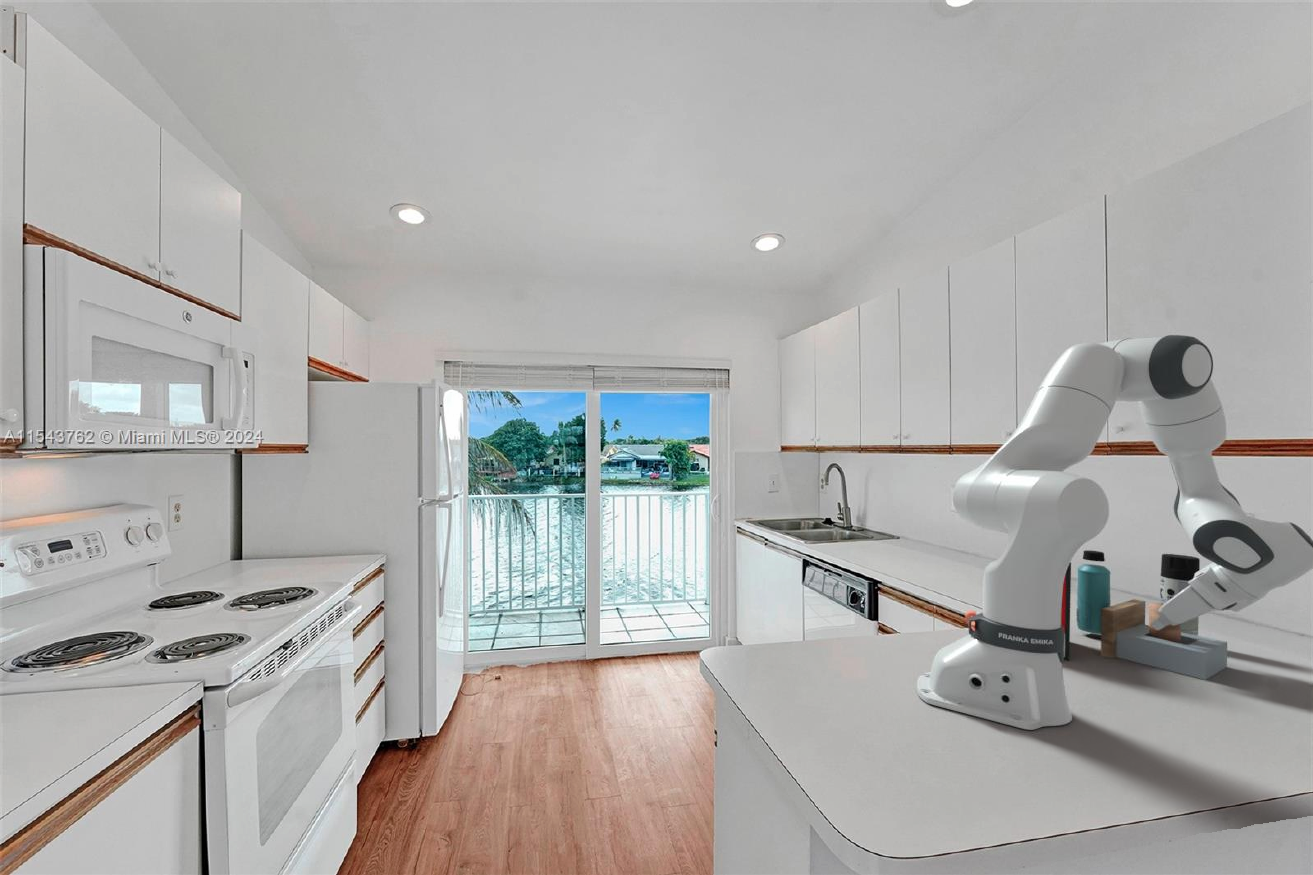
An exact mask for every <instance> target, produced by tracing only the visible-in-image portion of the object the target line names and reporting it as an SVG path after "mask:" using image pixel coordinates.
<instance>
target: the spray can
mask: <svg viewBox="0 0 1313 875" xmlns="http://www.w3.org/2000/svg"><path fill="white" fill-rule="evenodd" d="M1160 562H1161V564H1160V589H1159V590H1160V592H1159V600H1160V601H1159V603H1160V604H1165V603H1166V602H1168V601H1169V600H1170V599H1171V598H1173V597H1174V596H1175V595H1177V594H1178V593H1179V592H1181V591H1182V590H1183V589H1185V588H1186V587H1188V586H1189V584H1188V582H1189V581H1190V580H1192V579H1193V578H1194V576H1195V573H1196V572H1198V571H1199V570H1201V569H1200V565H1201V563H1200V562H1201V560H1200V558H1199V557H1197V556H1189V555H1185V554H1184V555H1183V554H1174V553H1173V554H1172V553H1163V554H1161V561H1160ZM1199 617H1200V616H1198V617H1196V618H1193V619H1191V620H1188V621H1186V622H1183V623H1181V632H1182V633H1187V634H1192V635H1196V636H1199Z"/></svg>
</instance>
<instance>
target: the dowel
mask: <svg viewBox="0 0 1313 875" xmlns="http://www.w3.org/2000/svg"><path fill="white" fill-rule="evenodd" d="M1163 605H1164V604H1160V602H1158V603H1157V602H1152V603H1151V602H1150V603H1148V625H1149V636H1150V637H1154V638H1159V639H1163V640H1167V641H1172V642H1176V643H1181V624H1178V625H1175V626H1173V625H1171V624H1170V625H1168V626H1166V627H1164V628H1162V629H1160V630H1156V629H1154V627H1153V626H1152V625H1151V622H1152V621H1154V620H1156V619H1157V618H1158V617H1160V616H1161V615H1160V613H1159V612H1158V610H1159V608H1160V607H1161V606H1163Z"/></svg>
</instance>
